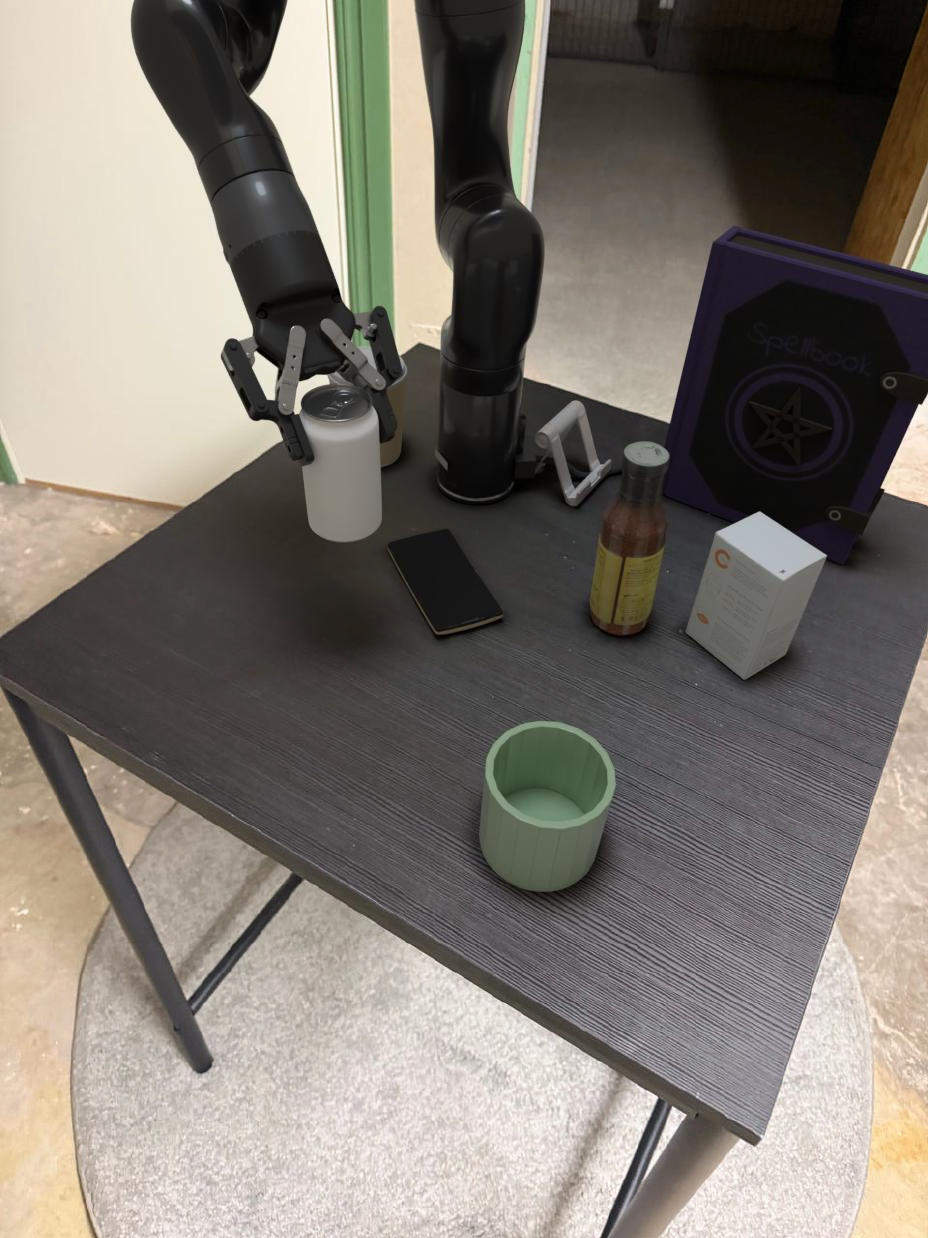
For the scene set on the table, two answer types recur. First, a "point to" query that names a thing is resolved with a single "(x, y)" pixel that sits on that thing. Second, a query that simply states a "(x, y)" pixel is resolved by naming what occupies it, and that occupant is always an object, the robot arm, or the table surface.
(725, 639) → the small box
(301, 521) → the table surface
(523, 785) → the holder
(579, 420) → the tablet stand
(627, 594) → the sauce bottle
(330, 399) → the can
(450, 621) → the smartphone
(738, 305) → the book
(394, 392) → the coffee cup
